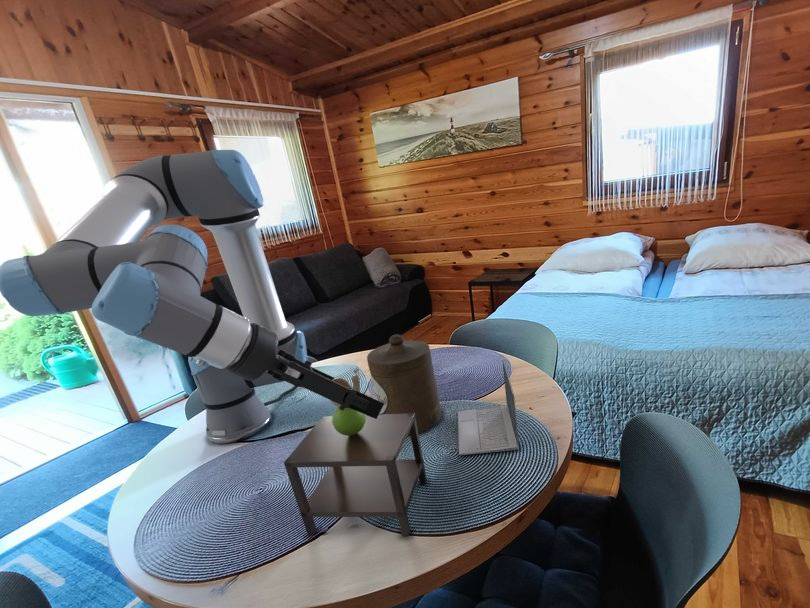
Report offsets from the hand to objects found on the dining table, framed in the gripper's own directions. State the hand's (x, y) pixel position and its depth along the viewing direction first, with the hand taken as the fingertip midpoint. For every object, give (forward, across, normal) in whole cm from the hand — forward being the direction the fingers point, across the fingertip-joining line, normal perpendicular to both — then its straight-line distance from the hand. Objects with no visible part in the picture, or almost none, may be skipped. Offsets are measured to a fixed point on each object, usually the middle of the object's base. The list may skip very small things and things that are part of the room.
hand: (358, 398), depth 73 cm
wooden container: (+29, -18, 0) cm, 35 cm away
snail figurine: (+3, 0, -6) cm, 6 cm away
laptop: (+34, 0, +5) cm, 35 cm away
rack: (+13, +1, -16) cm, 21 cm away
